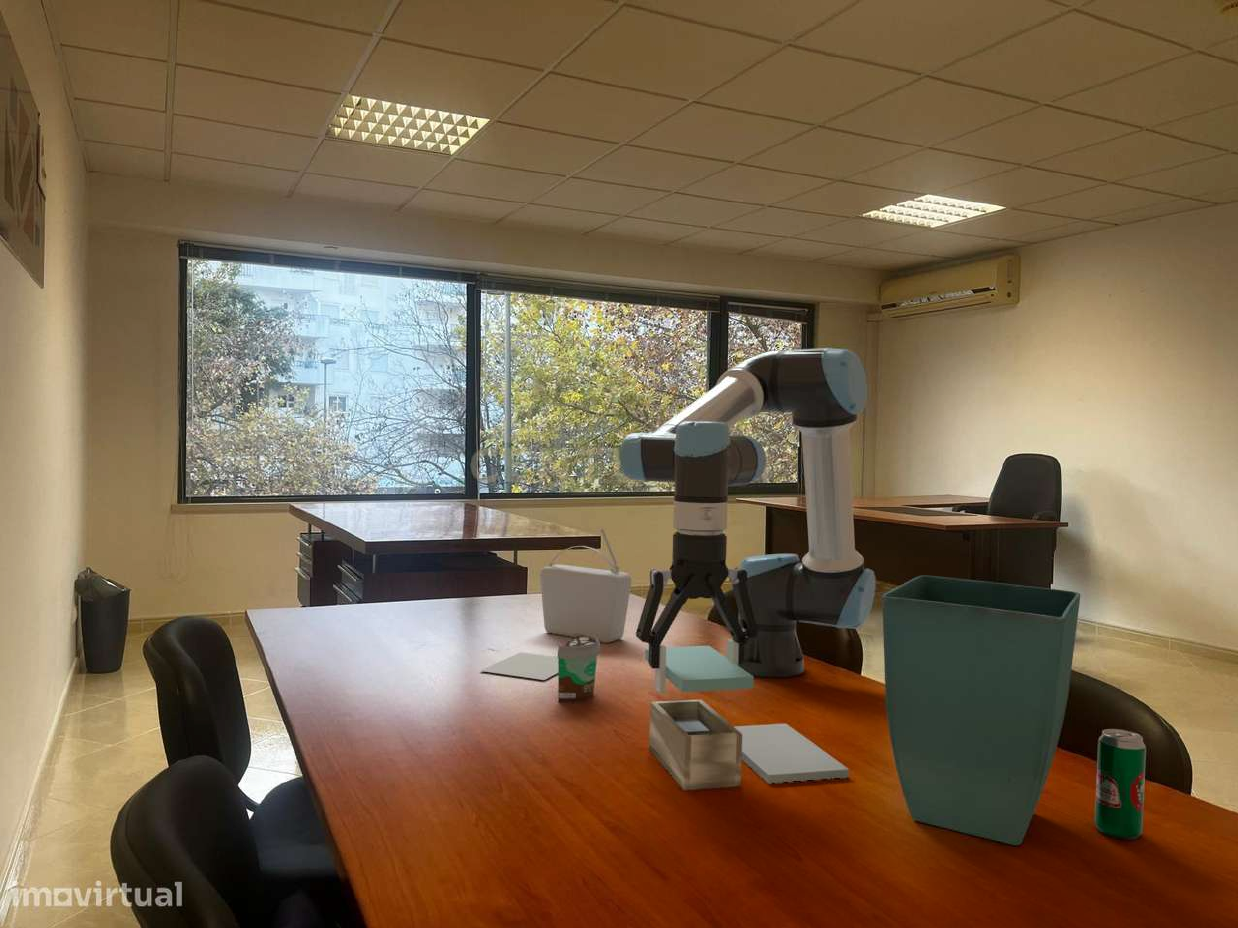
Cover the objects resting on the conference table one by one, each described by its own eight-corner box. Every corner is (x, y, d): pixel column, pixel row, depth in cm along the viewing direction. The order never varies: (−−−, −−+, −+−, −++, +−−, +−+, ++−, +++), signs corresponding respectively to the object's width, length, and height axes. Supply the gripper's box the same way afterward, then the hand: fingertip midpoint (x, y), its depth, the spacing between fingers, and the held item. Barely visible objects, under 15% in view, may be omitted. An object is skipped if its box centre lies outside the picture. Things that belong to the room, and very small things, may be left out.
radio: (634, 639, 205) (637, 530, 205) (615, 645, 198) (618, 533, 198) (557, 626, 217) (560, 523, 216) (536, 631, 210) (539, 525, 209)
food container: (591, 707, 153) (592, 649, 153) (556, 704, 154) (557, 646, 154) (606, 688, 165) (608, 633, 165) (574, 685, 166) (575, 631, 166)
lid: (708, 655, 136) (708, 645, 136) (753, 688, 120) (753, 676, 120) (645, 659, 134) (645, 648, 133) (682, 692, 117) (682, 680, 117)
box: (699, 745, 135) (701, 699, 135) (740, 785, 120) (742, 734, 120) (648, 748, 133) (650, 701, 133) (683, 790, 118) (685, 737, 118)
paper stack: (437, 668, 177) (437, 664, 177) (500, 642, 200) (500, 639, 200) (544, 683, 168) (544, 679, 168) (597, 654, 191) (597, 651, 191)
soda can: (1085, 823, 111) (1089, 727, 111) (1124, 822, 112) (1128, 727, 111) (1111, 841, 106) (1115, 741, 106) (1151, 841, 107) (1156, 741, 106)
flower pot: (1052, 872, 98) (1064, 615, 97) (870, 825, 109) (879, 593, 108) (1071, 810, 115) (1081, 591, 114) (912, 775, 126) (920, 574, 125)
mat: (785, 730, 143) (786, 723, 143) (848, 777, 124) (848, 769, 124) (715, 735, 140) (715, 727, 140) (768, 783, 121) (768, 774, 121)
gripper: (629, 535, 119) (625, 701, 120) (785, 533, 125) (781, 691, 126) (615, 529, 126) (611, 685, 127) (763, 527, 132) (759, 677, 133)
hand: (695, 688), depth 127 cm, fingers closed on lid, 10 cm apart
